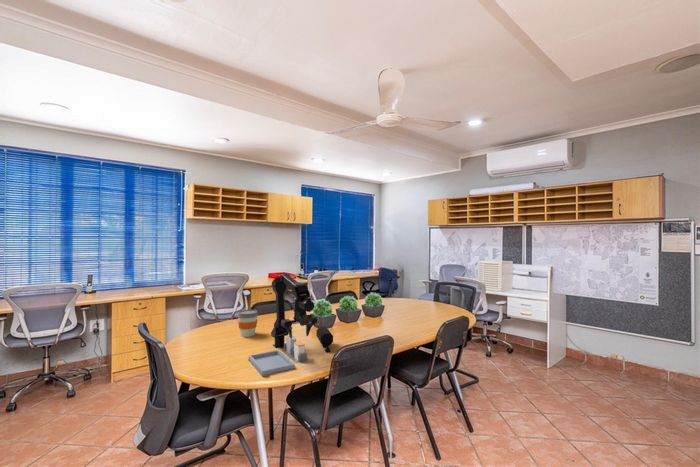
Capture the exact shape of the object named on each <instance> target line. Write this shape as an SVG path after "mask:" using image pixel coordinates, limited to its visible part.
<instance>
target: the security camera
mask: <svg viewBox="0 0 700 467" xmlns="http://www.w3.org/2000/svg"><path fill="white" fill-rule="evenodd" d="M315 332H316V333H315V334H316V339H318V341H319V342H320V344H321V346H322V348H323V349H324V352H326V353H330V352H331V350H330V346H331V345H332V344H333V343H334V335H333V334H332V332H331V331H330V330H329V329H328V328H327V327H326V326H325V325H323V326H318V328H317V329H316V331H315Z"/></svg>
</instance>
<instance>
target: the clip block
mask: <svg viewBox="0 0 700 467" xmlns="http://www.w3.org/2000/svg"><path fill="white" fill-rule="evenodd" d="M280 352H281V353H282V354H284V355H285V356H286V357H287V358H288V359H289V360H290V361H292V362H293V363H294V364H298V363H303V362H308V361H310V359H309V358H308V354H307V352H305V353H303V354H298V360H297V359H295V358H294V347H293V348H290V353H288V352H287V351H286V343H285V342H284V347H283V349H282V350H281V351H280Z"/></svg>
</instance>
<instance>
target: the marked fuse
mask: <svg viewBox="0 0 700 467" xmlns="http://www.w3.org/2000/svg"><path fill="white" fill-rule="evenodd" d="M305 348H306V347H305V343H304V342H302V341H301V340H299V341H296V342H294V358H295V359H297V360H298V354H303V353H306V351H305Z"/></svg>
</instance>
